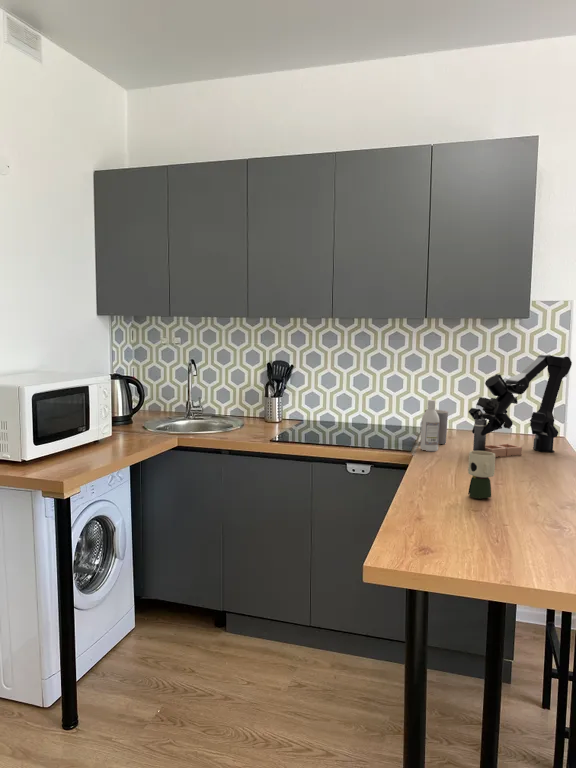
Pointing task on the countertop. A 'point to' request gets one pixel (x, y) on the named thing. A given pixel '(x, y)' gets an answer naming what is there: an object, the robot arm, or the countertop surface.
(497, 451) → the collar
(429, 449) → the bath foam
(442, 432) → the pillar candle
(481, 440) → the tube
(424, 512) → the countertop surface
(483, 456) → the character mug
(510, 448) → the collar
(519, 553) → the countertop surface
